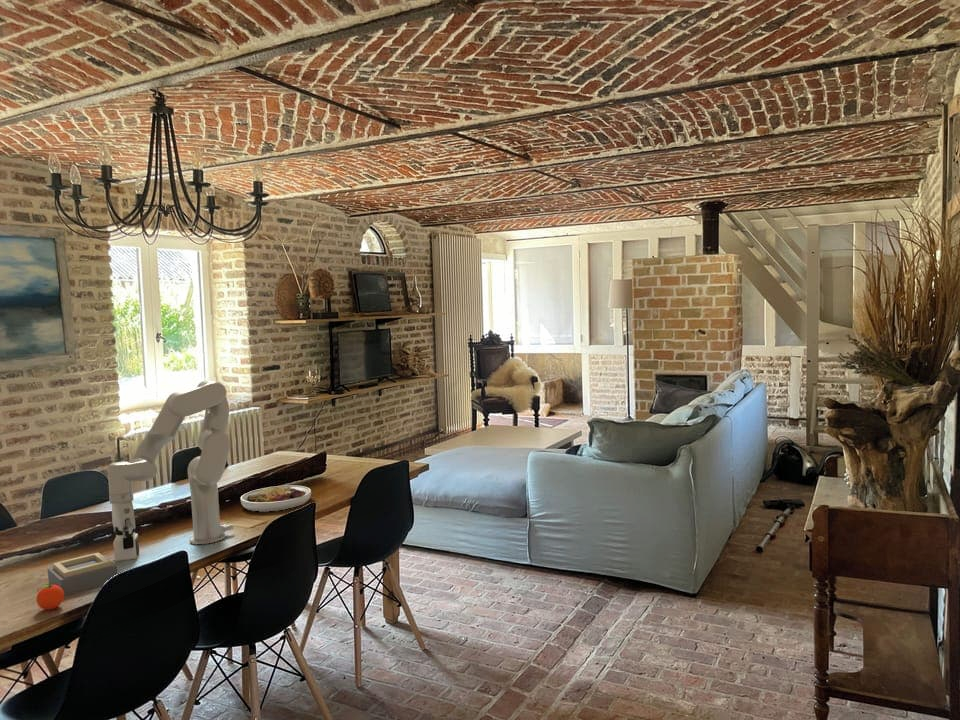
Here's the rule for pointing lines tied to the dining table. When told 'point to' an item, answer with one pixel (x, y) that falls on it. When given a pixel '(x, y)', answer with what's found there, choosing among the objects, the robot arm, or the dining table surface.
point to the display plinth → (81, 573)
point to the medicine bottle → (125, 553)
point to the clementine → (50, 597)
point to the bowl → (275, 498)
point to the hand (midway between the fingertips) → (124, 545)
